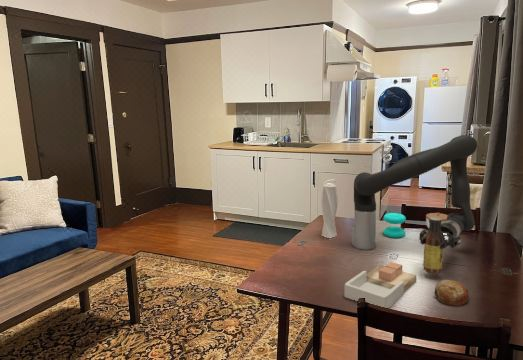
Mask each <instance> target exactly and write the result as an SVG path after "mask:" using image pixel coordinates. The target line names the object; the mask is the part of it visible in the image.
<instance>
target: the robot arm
mask: <svg viewBox="0 0 523 360" xmlns="http://www.w3.org/2000/svg"><path fill="white" fill-rule="evenodd" d="M477 148H478V141H477V140H476V139H475V138H474V137H473V136H472V135H471V136H470V135H468V134H462V135H458V136H456V137H453V138H452V139H451V140H450V141H448V142H446V143H444V144H442V145H439V146H436V147H433V148H429V149H425V150H422V151H418V152H416V153H412V154H411V155H409V156H408V155H407V156H406V157H403V158H401V159H400V160H398V161H396V162H394V163H393V164H392V165H390V166H389V167H388V168H386V169H384V170H381V171H379V172H375V173H369V172H361V173H358V174H357V175H356V176H355V178H354V181H353V203H354V205H353V206H354V221H353V222H354V223H353V225H352V227H351V228H352V229H351V230H352V231H351V232H352V235H351V240H352V241H351V245H353V247H354V248H356V249H359V250H366V251H367V250H368V251H369V250H373V249H375V248H376V229H377V227H376V226H377V203H376V194H377V193H379V192H381V191H383V190H384V189H387V188H389V187H391V186H393V185H396V184H399V183H403V182H406V181H407V180H411V179H413V178H415V177H416V178H417V177H419V176H421V175H424V174H425V173H426V174H427V173H428V172H430V171H433V170H435V169H436V168H437V169H438V168H439V167H440V166H442V165H444V164H447V163H450V171H451V172H450V175H451V190H450V191H451V193H450V194H451V195H450V197H451V200H450V201H451V202H450V203H451V206H452V207H453V208H457V209H461V210H462V212H463V213H461V212H458V213H457V212H451V213H449V214H447V215H448V216H447V220H446V221H445V222H443V223H441V234H442V237H443V240H444V241H443V242H441V245H440V249H443V250H444V249H446V248H448V247H450V248H456V247H457V246H459V245H461V243H462V241H461V239H462V238H461V236H459V235H460V234H461V233H462V232H463V231H464V232H465V231H468V232H469V231H471V230H473V229H474V228H475V224H476V223H475V217H474V215H473V211H472V207H471V206H472V205H471V185H470V180H469V176H468V171H467V170H468V169H467V168H468V167H467V165H468V157H470V156H472V155H473V154H475V152H476V150H477ZM427 233H428V231H427V230H426V229H422V230H421V231H420V232H419V237H418V239H419V243H420V245H425V236H426V234H427Z"/></svg>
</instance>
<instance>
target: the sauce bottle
mask: <svg viewBox="0 0 523 360" xmlns="http://www.w3.org/2000/svg"><path fill="white" fill-rule="evenodd" d="M441 222H442V220H441V219H440V218H436V217H431V218H429V223H430V225H429V228H428V231H427V232H428V233H427V234H426V236H425V244H423V245H424V247H423V248H424V249H423V265H422V266H423V271H425V272H426V273H429V274H440V273H441V272H442V268H443V256H444V255H443V253H444V248H443V249H440V245H441V242H443V241H444V240H443V237H442V234H441Z"/></svg>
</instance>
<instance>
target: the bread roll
mask: <svg viewBox="0 0 523 360" xmlns="http://www.w3.org/2000/svg"><path fill="white" fill-rule="evenodd" d="M468 290H469V289H467V288H466V287H465V286H464V285H463V284H462V283H461V282H459V281H455V280H450V279H442V280H440V281H439V282H437V284H436V285H435V287H434V295H433V297H434V299H435V298H436V300H438V301H439V302H441V303H442V304H444V305H448V306H455V307H456V306H462V305H465V304H466V303H467V302H468V301H469V298H470V297H469V291H468Z"/></svg>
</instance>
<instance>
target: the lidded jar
mask: <svg viewBox="0 0 523 360" xmlns="http://www.w3.org/2000/svg"><path fill="white" fill-rule="evenodd" d="M447 216H448V214H445V213H440V212H430V213H426V214H425V223H426V227H427V228H428V229H429V225H430V223H429V218H431V217H436V218H440V219H441V220H442V222H441V223H443V222H445V221H446V220H447Z"/></svg>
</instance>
